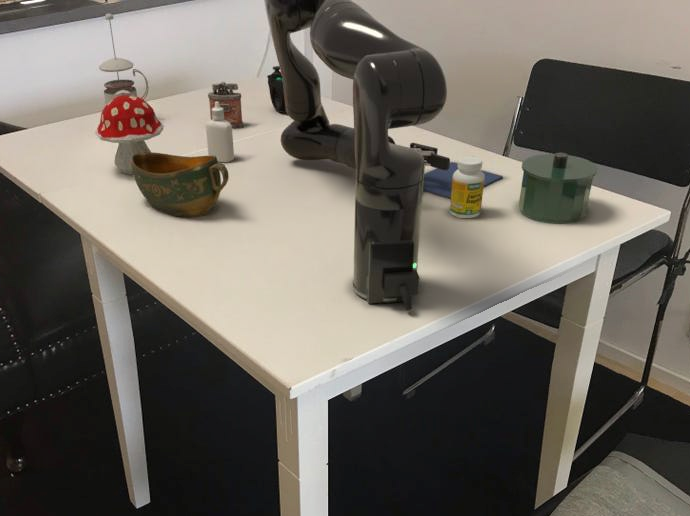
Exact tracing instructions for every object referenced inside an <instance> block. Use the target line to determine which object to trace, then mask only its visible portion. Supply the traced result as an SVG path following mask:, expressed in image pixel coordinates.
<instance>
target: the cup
mask: <svg viewBox="0 0 690 516" xmlns="http://www.w3.org/2000/svg"><path fill="white" fill-rule="evenodd" d="M131 164H132V171H133V174H132V176H133V178H134V181H135V183H136V185H137V188H138V190H139V191H140V193H141V194H142V196H143V197H144V198H145V199H146V201H147V203H148V205H149V206H150V207H152V208H153V209H155V210H157V211H159V212H161V213H164V214H167V215H171V216H175V217H180V218H181V217H183V218H197V217H202V216H206V215H208V214H210V213H211V212H212V211H213V209H214V206H215V205H217V201H218V200H219V198H220V194H221V192H222V191H223V189H224V188H225V187H226V185H227V184H228V181H229V177H230V176H229V171H228V168H227V167H226V165H225V164H223V163H222V162H218V161H217V158H216V156H215V155H209V156H208V155H198V156H183V155H175V154H174V155H173V154H168V153H160V152H152V151H151V152H143V153H136V154H134V155H133V156H132V158H131ZM221 176H222V178H221Z"/></svg>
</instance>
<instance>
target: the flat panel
mask: <svg viewBox="0 0 690 516" xmlns="http://www.w3.org/2000/svg"><path fill="white" fill-rule="evenodd" d="M456 170H458V162H453V161H450V168H449V169H448V170H442V169H438V168H435V169H432V170H430V171H428V172H424V185H423V192H427V193H430V194H433V195H436V196H441V197H443V198H445V199H448V200H449V199H450V200H451V192H452V180H453V174H454V172H455V171H456ZM481 171H482V172H483V173H484V176H485V179H484V188H485V187H487V186H489V185H491V184H493V183H495V182H497V181H499V180H501V179H503V178H504V176H503V175H500V174H497V173H493V172H490V171H487V170H483V169H481Z"/></svg>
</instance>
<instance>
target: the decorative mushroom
mask: <svg viewBox="0 0 690 516" xmlns="http://www.w3.org/2000/svg"><path fill="white" fill-rule="evenodd" d="M143 99H144V98H142V99H141V97H140V96H138V95H137V96H133V95H121V96H118V97H116V98H114V99H112V100H111V101H110V102H109V103H108V104H107V105H106V104H105V106H104V108H103V109H102V111H101V113H100V120H99V124H98V126H97V128H96V130H95V132H94V133H95V135H96V136H97V137H98V138H99V139H100V140H101V141H102V142H103V141H104V142H108V143H112V144H118V145H117V150H116V152H115V155H114V165H115V166H116V167H117V168H118V170H119V171H120V173H123V174H126V175H133V171H132V164H131V158H132V156H133V155H134V154H136V153H143V152H152V151H151V150H150V148H149V147H148V145H147V143H146V141H147V140H151V139H153V138H155V137H157V136H160V135H161V133H162V132H163V131H164V127H165V125H164V124H163V123H162V122H161V120H159V119H158V117H157V115H156V113H155V110H154V108H153V107H152V106H151V105H150V104H149V103H148V102H147V101H146V100H145V99H144V100H143Z"/></svg>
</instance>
